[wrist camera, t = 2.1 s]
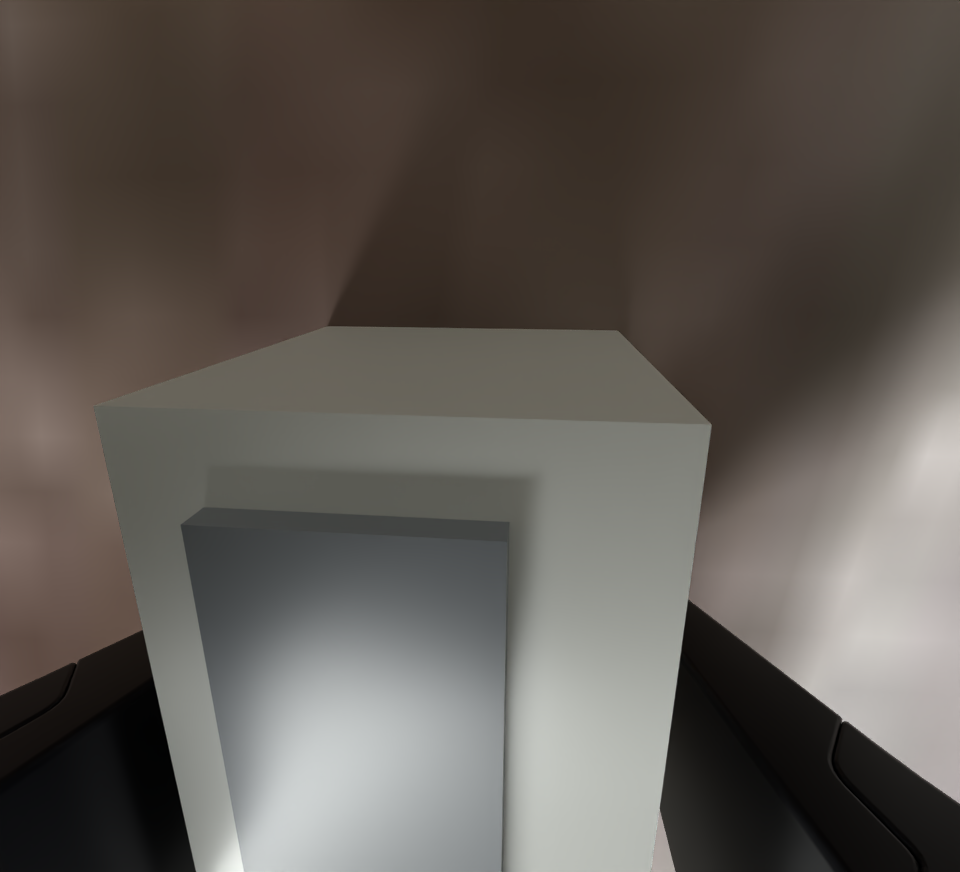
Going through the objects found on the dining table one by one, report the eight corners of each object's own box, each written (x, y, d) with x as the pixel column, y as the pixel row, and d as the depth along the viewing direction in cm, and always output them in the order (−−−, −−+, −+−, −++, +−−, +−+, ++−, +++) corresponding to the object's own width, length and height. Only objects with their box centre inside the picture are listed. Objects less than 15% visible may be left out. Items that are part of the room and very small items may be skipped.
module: (626, 329, 8) (750, 439, 3) (592, 741, 11) (636, 1151, 6) (329, 325, 9) (60, 416, 4) (362, 721, 11) (221, 1087, 6)
